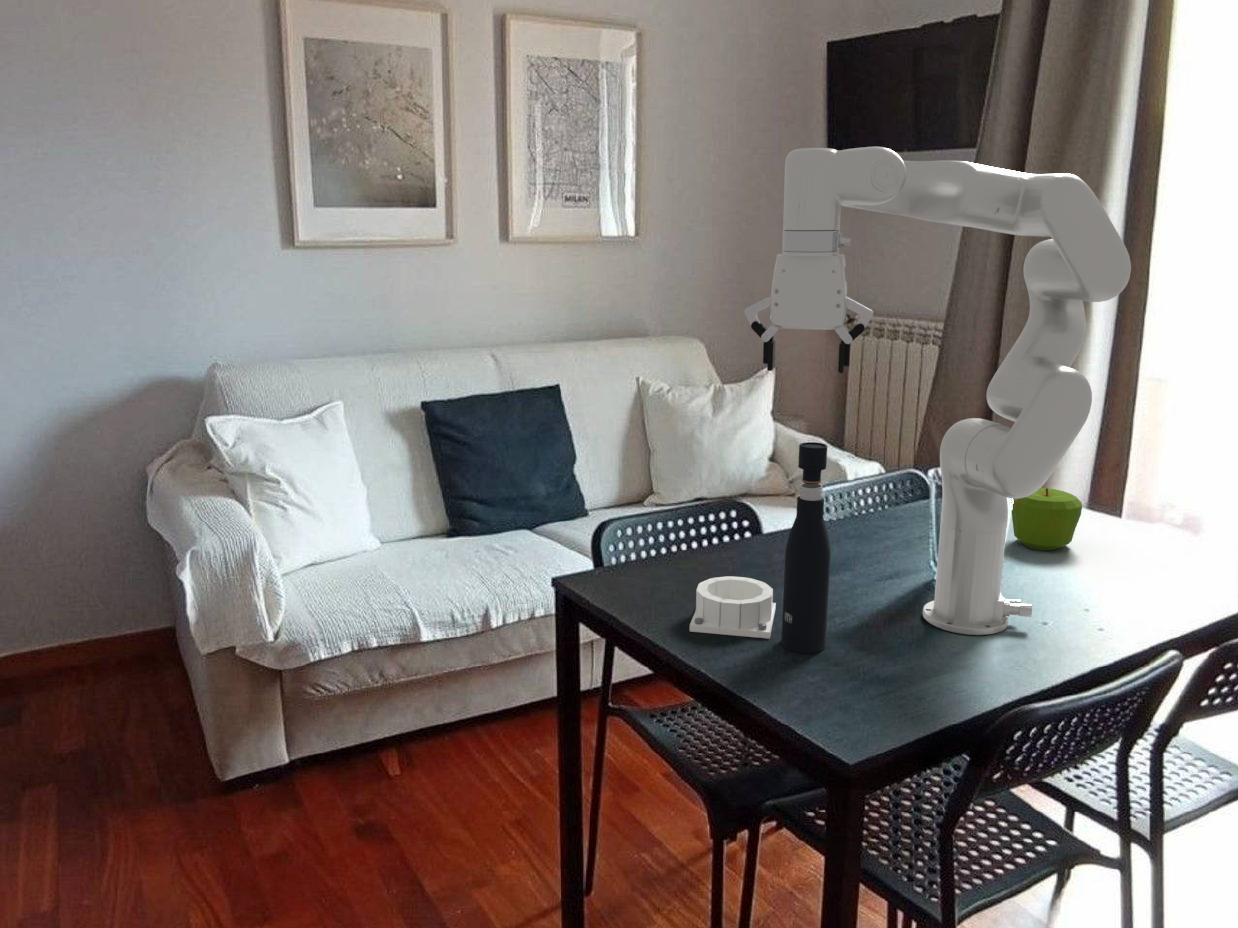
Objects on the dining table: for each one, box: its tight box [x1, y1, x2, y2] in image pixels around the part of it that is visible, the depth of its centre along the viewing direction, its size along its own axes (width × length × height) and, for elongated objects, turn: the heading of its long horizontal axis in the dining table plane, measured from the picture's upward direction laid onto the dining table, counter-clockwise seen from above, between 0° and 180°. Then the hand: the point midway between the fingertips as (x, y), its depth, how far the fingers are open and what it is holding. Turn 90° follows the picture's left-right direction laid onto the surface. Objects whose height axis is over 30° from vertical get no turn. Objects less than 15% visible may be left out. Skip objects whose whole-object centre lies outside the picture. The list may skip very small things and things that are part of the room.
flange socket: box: [689, 575, 777, 640], centre depth 159 cm, size 12×12×5 cm
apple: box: [1011, 487, 1083, 551], centre depth 195 cm, size 12×12×11 cm
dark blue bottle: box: [780, 441, 832, 654], centre depth 147 cm, size 6×6×30 cm
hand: (805, 370), depth 143 cm, fingers open, 9 cm apart
